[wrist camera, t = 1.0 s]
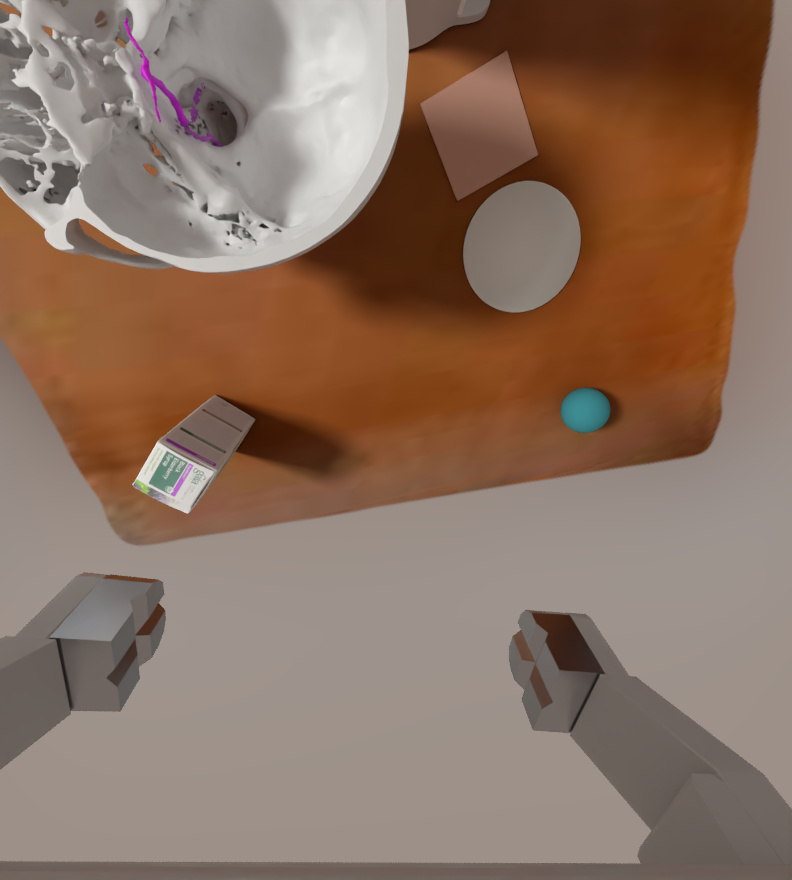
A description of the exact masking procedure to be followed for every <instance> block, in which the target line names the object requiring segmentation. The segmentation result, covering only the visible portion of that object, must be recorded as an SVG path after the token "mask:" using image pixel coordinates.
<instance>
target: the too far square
mask: <svg viewBox="0 0 792 880" xmlns="http://www.w3.org/2000/svg"><path fill="white" fill-rule="evenodd" d="M420 106H421V109H422V111H423V114H424V116H425V119H426V122H427V124H428V127H429V129H430V132H431V135H432V137H433V140H434V142H435V145H436V148H437V150H438V153H439V155H440V158H441V161H442V163H443V166H444V168H445V171H446V174H447V176H448V179H449V182H450V184H451V187H452V189H453V192H454V195H455V197H456V200H457V201H459V200H460V199H462V198H464V197H466V196H467V195H469V194H471V193H473V192H474V191H476V190H478V189H480V188H481V187H483V186H485V185H487V184H488V183H490V182H492V181H494V180H496V179H497V178H499V177H501V176H503V175H504V174H506V173H508V172H510V171H511V170H513V169H515V168H517V167H518V166H520V165H522V164H524V163H525V162H527V161H529V160H531V159H532V158H534V157H536V156H538V152H537V149H536V146H535V142H534V139H533V136H532V132H531V129H530V126H529V122H528V119H527V115H526V112H525V109H524V105H523V102H522V99H521V95H520V92H519V89H518V85H517V82H516V79H515V75H514V72H513V68H512V65H511V62H510V58H509V55H508V52H507V51H505V52H504V53H502V54H500V55H499V56H497V57H496V58H494V59H492V60H491V61H489V62H487V63H486V64H484V65H482V66H481V67H479V68H478V69H476V70H474V71H473V72H471V73H469V74H468V75H466V76H465V77H463V78H461V79H460V80H458V81H456V82H455V83H453V84H452V85H450V86H448V87H447V88H445V89H443V90H442V91H440V92H438V93H437V94H435V95H434V96H432V97H430V98H429V99H427V100H425V101H424V102H422V103H421V104H420Z"/></svg>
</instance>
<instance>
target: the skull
mask: <svg viewBox="0 0 792 880" xmlns="http://www.w3.org/2000/svg"><path fill="white" fill-rule="evenodd" d="M0 2H1V3H3V4H6V5H9V6H12V7H14V8H15V9H17V10H19V11H20V12H21V13H22V14H19V15H20V16H21V17H19V16H18V15H15V14H10V15H9V14H7V13H6V12H4V11H3V10H2V9H1V8H0V187H1V188H2V189H3V190H4V192H5V193H6V194H7V195H8V196H9V197H10V198H11V199H12V200H13V201H14V202H15V203H16V204H17V205H18V206H19V207H21V208H22V209H23V210H24V211H25V212H26V213H27V214H29V215H30V216H31V217H32V218H33V219H34V220H35V221H37V222H38V223H39V224H40V225H41V226H42V227H43V228H44V229H45V230H46V231H45V238H46V240H47V241H48V242H49V243H50V244H51V245H52V246H53V247H55V248H56V249H58V250H61V251H64V252H68V253H72V254H77V255H81V254H88V255H92V256H94V257H96V258H99V259H104V260H107V261H110V262H115V263H120V264H124V265H129V266H133V267H139V268H147V269H166V268H171V267H179V268H182V269H186V270H190V271H196V272H204V273H224V274H227V273H237V272H245V271H252V270H259V269H264V268H268V267H272V266H275V265H278V264H281V263H284V262H287V261H289V260H292V259H294V258H296V257H298V256H301V255H303V254H305V253H307V252H309V251H310V250H312V249H314V248H316V247H317V246H319V245H320V244H322V243H323V242H325V241H326V240H328V239H329V238H331V237H332V236H334V235H335V234H337V233H338V232H339V231H341V230H342V229H343V228H344V227H345V226H347V225H348V224H349V223H350V222H351V221H352V220H353V219H354V218H355V217H356V216H357V215H358V213H359V212H360V211H361V210H362V209H363V207H364V206H365V205H366V204H367V202H368V201H369V199H370V198H371V196H372V195H373V193H374V192H375V191H376V189H377V187H378V186H379V184H380V182H381V180H382V178H383V176H384V175H385V172H386V170H387V168H388V166H389V163H390V161H391V159H392V156H393V153H394V150H395V147H396V143H397V140H398V136H399V131H400V125H401V120H402V116H403V111H404V103H405V94H406V78H407V69H408V54H409V40H408V28H407V16H406V4H405V0H0ZM44 26H48V27H50V28H52V29H53V36H52V37H50V36H49V35H48V34H47V33H46V32H45V31H44V29H43V27H44ZM118 38H120V39H121V40H122V41H123V42H124V43H125V44H126V45H125V46H126V49H125V48H121V46H120V45H119V44H118V43H117V39H118ZM147 136H148V139H150V141H149V140H147ZM150 143H153V144H154V145H155V147H156V148H157V149H158V151H159V152H160V153H161V154H162V155H163V156H158V155H157V156H156V155H154V153H153V152H154V149H153V147H152V146H151V144H150ZM144 164H147V165H151V166H153V167H154V168H156V170H157V172H158V175H157V176H153V175H150V174H149V173H148V172H147V171H146V170H145V168H144V166H143V165H144ZM172 181H174V182H176V183H177V184H174V183H173V182H172ZM79 219H83V220H85V221H87V222H88V223H90V224H91V225H93V226H94V227H96V228H97V229H99V230H100V231H102V232H103V233H105V234H106V235H108V236H109V237H111V238H112V239H114V240H116V241H117V242H119V243H120V244H122V245H124V246H125V247H128V248H130V249H132V250H134V251H136V252H138V253H141V254H143V255H146V256H142V255H130V254H124V253H122V252H119V251H117V250H114V249H111V248H108V247H106V246H104V245H102V244H101V243H99V242H97V241H96V240H94V239H93V238H91V237H90V236H88V235H87V234H85V233H84V231H83V229H82V228H81V226H80V224H79Z"/></svg>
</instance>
